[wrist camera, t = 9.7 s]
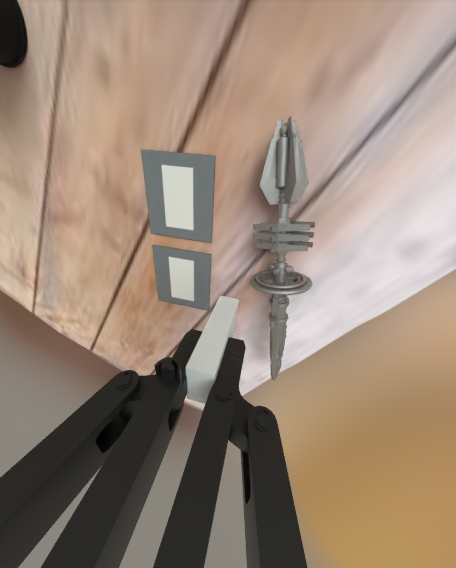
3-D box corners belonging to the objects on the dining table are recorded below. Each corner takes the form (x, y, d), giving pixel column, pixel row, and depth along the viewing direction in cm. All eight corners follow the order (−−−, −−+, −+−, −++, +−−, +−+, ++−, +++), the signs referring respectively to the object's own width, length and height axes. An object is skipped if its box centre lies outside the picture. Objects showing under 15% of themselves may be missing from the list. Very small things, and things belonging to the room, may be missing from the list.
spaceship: (243, 385, 31) (291, 411, 27) (232, 120, 18) (322, 87, 14) (264, 355, 37) (306, 372, 33) (267, 139, 24) (338, 120, 20)
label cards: (142, 149, 25) (140, 149, 25) (215, 155, 24) (214, 155, 23) (159, 299, 37) (158, 300, 37) (208, 309, 36) (208, 310, 35)
